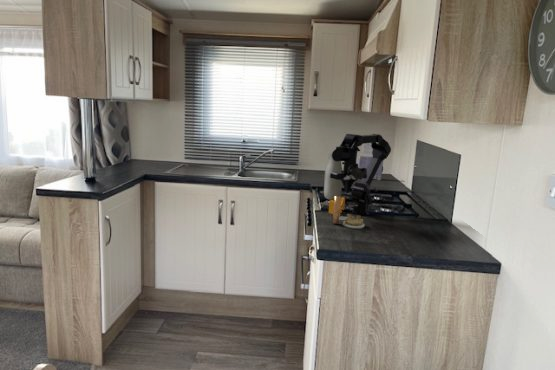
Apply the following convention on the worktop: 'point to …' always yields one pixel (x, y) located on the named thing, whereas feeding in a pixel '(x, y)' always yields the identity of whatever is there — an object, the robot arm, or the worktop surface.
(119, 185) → the worktop surface
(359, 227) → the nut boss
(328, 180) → the glass bottle
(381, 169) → the cake pan box
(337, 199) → the bronze dome and bar
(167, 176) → the worktop surface
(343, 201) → the pipe clamp
